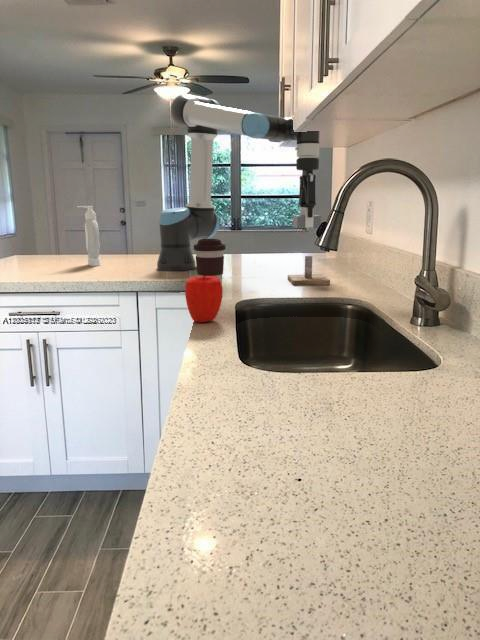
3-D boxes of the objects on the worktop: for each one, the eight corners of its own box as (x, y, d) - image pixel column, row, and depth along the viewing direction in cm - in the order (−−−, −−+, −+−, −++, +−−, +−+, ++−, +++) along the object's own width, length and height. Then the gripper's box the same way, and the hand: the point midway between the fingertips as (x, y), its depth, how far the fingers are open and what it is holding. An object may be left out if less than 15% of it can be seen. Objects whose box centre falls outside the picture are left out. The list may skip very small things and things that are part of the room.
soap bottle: (80, 263, 217) (75, 205, 211) (99, 262, 220) (94, 205, 214) (83, 267, 206) (78, 206, 200) (102, 266, 208) (98, 205, 202)
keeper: (287, 279, 174) (287, 254, 172) (321, 278, 175) (322, 254, 173) (293, 285, 163) (293, 259, 161) (329, 284, 163) (330, 258, 161)
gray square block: (292, 226, 178) (292, 215, 177) (315, 226, 179) (315, 214, 178) (297, 228, 170) (297, 216, 169) (320, 227, 171) (320, 215, 170)
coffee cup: (221, 290, 155) (221, 241, 152) (191, 289, 157) (189, 240, 154) (229, 284, 165) (228, 238, 161) (199, 283, 167) (198, 238, 163)
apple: (214, 327, 113) (213, 279, 110) (179, 324, 116) (177, 277, 113) (228, 318, 121) (228, 273, 118) (195, 315, 124) (194, 271, 121)
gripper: (291, 159, 179) (290, 225, 184) (303, 155, 159) (301, 228, 164) (311, 159, 179) (310, 224, 185) (326, 155, 159) (324, 228, 165)
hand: (306, 226), depth 174 cm, fingers closed on gray square block, 8 cm apart
